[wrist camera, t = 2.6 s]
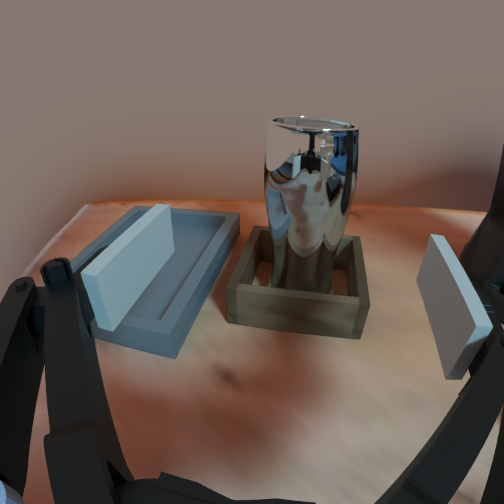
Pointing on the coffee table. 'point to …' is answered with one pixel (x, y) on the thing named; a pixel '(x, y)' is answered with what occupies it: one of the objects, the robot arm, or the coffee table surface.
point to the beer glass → (308, 197)
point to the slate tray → (170, 279)
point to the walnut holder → (298, 294)
